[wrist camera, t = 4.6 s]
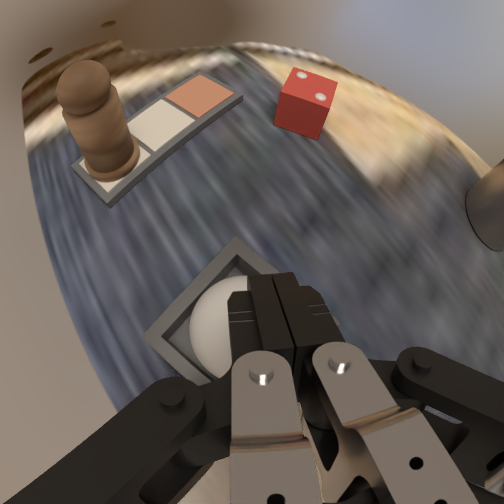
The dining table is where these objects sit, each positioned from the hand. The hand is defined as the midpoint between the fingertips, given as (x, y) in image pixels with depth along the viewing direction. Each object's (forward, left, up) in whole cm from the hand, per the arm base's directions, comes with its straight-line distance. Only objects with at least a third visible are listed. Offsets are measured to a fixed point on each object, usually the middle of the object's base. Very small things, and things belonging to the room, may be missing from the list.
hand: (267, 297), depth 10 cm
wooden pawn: (-4, -20, -13) cm, 24 cm away
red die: (-22, -10, -15) cm, 28 cm away
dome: (0, 0, -14) cm, 14 cm away
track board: (-10, -20, -15) cm, 27 cm away
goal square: (-16, -20, -15) cm, 29 cm away
